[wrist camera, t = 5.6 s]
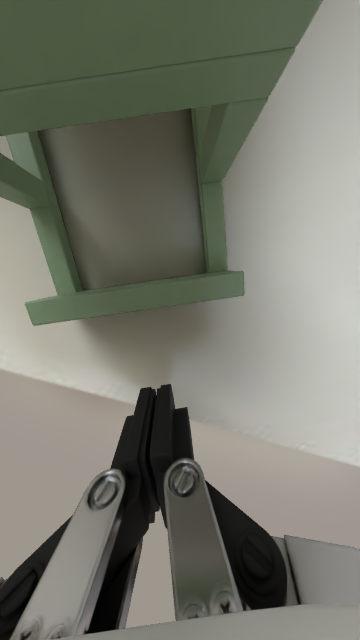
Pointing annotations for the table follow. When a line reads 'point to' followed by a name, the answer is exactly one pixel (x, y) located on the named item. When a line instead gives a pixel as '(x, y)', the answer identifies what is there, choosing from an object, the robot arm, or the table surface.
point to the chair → (137, 113)
